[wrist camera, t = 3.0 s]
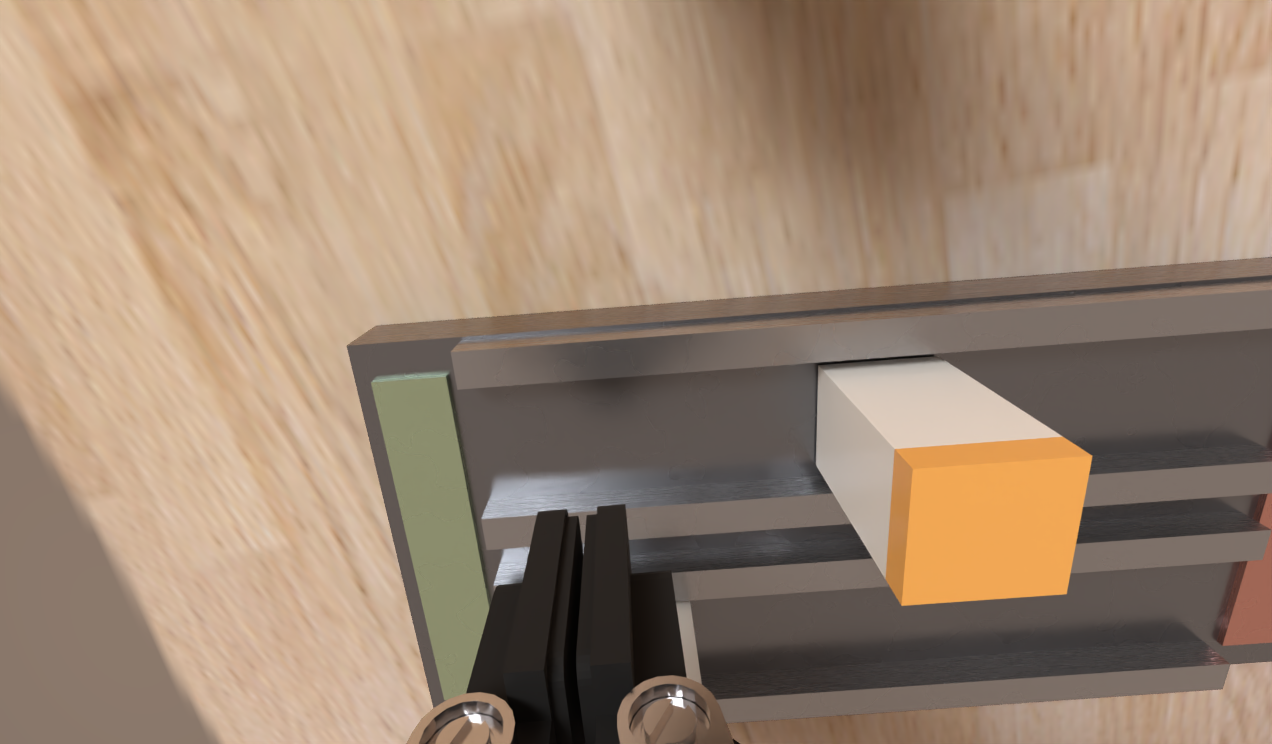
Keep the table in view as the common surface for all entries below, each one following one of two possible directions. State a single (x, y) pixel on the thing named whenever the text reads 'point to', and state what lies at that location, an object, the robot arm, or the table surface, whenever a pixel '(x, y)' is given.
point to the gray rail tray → (805, 505)
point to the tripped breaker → (949, 481)
